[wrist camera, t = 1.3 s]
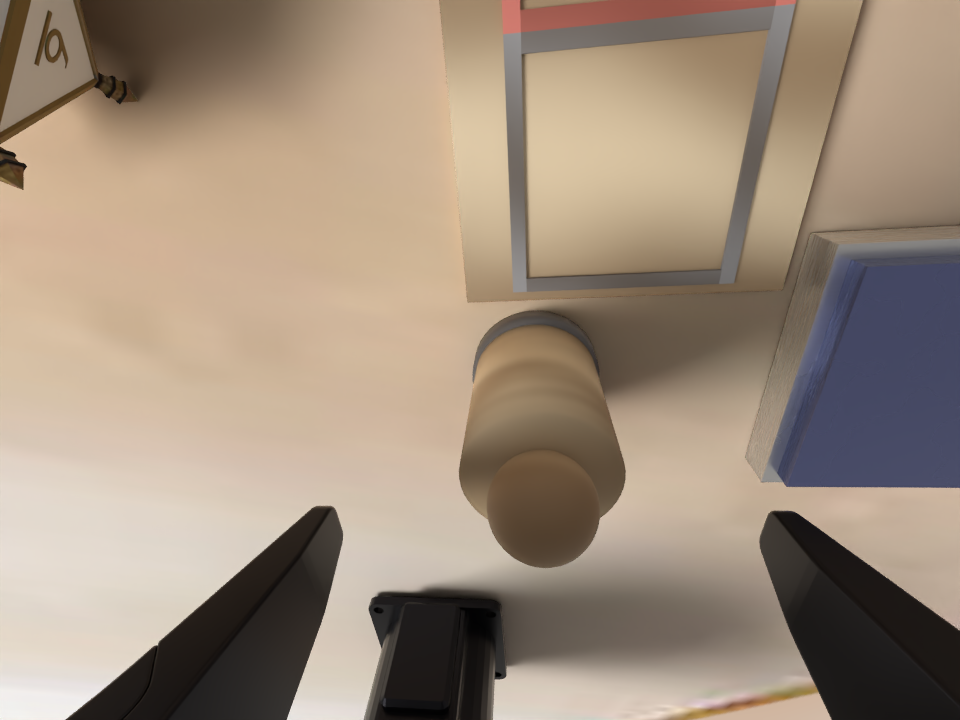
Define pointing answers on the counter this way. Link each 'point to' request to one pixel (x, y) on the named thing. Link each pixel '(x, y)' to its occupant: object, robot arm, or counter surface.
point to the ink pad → (867, 365)
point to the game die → (44, 68)
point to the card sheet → (637, 140)
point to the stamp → (540, 439)
